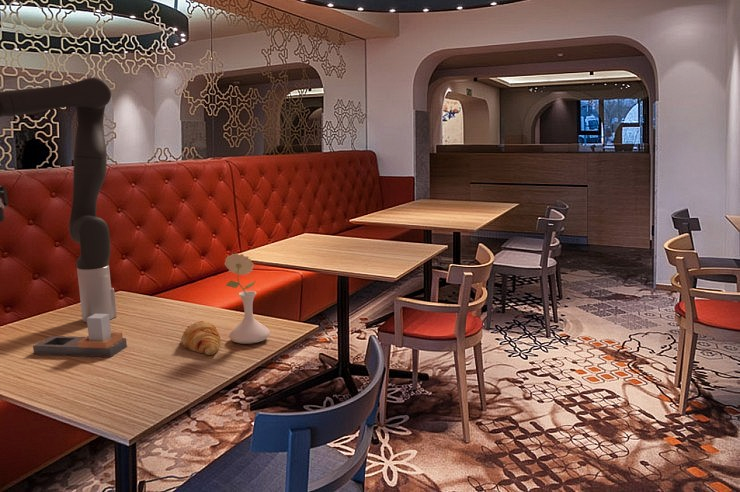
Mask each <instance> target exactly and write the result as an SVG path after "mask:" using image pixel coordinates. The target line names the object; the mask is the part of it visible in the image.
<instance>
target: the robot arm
mask: <svg viewBox="0 0 740 492" xmlns="http://www.w3.org/2000/svg"><path fill="white" fill-rule="evenodd" d="M111 98H112V89H111V87H110V85H109V84H108V82H107V83H106V82H105V81H104V80H103V79H101V78H98V77H88V78H87V77H86V78H85V79H82V80H79V81H76V82H75V81H74V82H71V83H67V84H62V85H55V86H47V87H33V88H24V89H22V88H21V89H13V90H4V91H0V117H17V116H23V115H31V114H37V113H43V112H45V111H52V110H57V109H62V108H72V107H73V108H74V107H76V114H77V115H76V117H77V119H76V120H77V124H76V125H77V126H76V133H75V142H74V151H73V152H74V153H73V179H72V180H73V181H72V183H73V184H72V203H71V211H70V216H69V217H70V219H69V223H68V224H69V225H68V232H69V236H70V237H71V239H72V240H73V241H74V242H76V244H79V245H80V247H79V248H80V255H79V257H77V259H76V264H75V265H76V270H77V271H76V272H77V279H78V281H77V282H78V290H79V299H80V301H79V302H80V309H81V318H82V322H84V323H86V324H87V318H88V317H90V316H92V315H94V314H109V318H110V320H112V319H114V318H117V317H118V315H117V305H116V304H117V303H116V296H115V295H116V294H115V289H114V287H112V283H111V272H110V262H109V261H110V258H111V237H110V236H111V235H110V229H109V226H108V224H107V222H106V221H105V220H104V219H103V218H101V217H98V216H97V203H98V197H99V194H100V191H101V190H102V187H103V185H104V182H105V178H106V174H107V161H108V160H107V159H108V157H107V154H108V153H107V146H106V145H107V143H106V138H105V134H104V118H105V109H106V106H107V105H108V104H109V103H110V101H111ZM9 203H10V202H9V199H8V193H7V186H5V185H0V223H1V222H4V221H5V211H4V209H5V207H6V206H9Z"/></svg>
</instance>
